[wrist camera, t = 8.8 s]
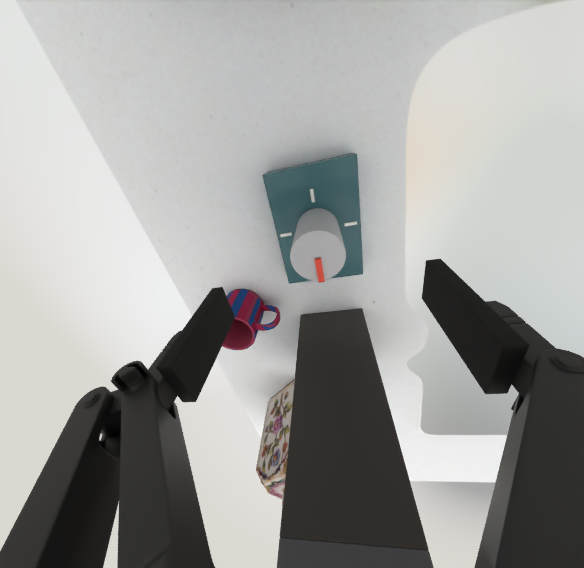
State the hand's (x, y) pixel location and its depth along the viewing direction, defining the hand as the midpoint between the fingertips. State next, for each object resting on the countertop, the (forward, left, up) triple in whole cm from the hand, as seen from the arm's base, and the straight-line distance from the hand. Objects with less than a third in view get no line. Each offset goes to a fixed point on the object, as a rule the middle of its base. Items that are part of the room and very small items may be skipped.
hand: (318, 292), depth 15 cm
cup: (+12, -12, -17) cm, 25 cm away
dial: (0, 0, -14) cm, 14 cm away
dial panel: (0, 0, -17) cm, 17 cm away
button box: (+21, 0, -17) cm, 27 cm away
